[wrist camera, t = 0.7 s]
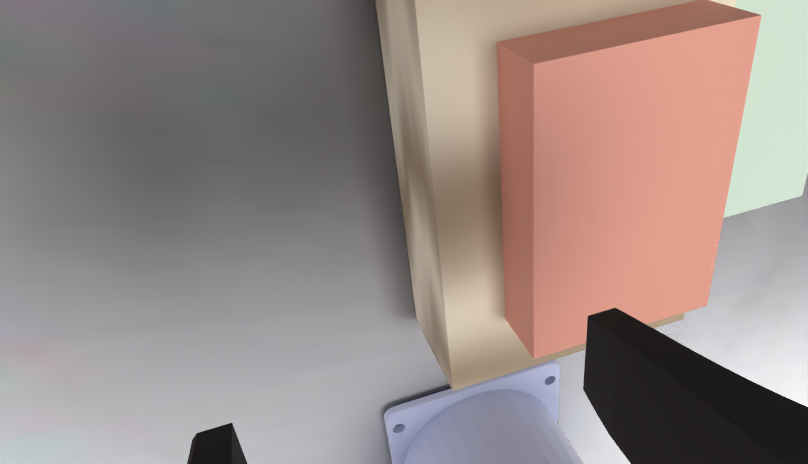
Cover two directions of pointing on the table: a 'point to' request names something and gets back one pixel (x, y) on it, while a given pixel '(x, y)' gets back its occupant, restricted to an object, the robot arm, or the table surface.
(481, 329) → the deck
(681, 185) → the salmon pink block
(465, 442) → the robot arm
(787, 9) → the mat
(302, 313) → the table surface
